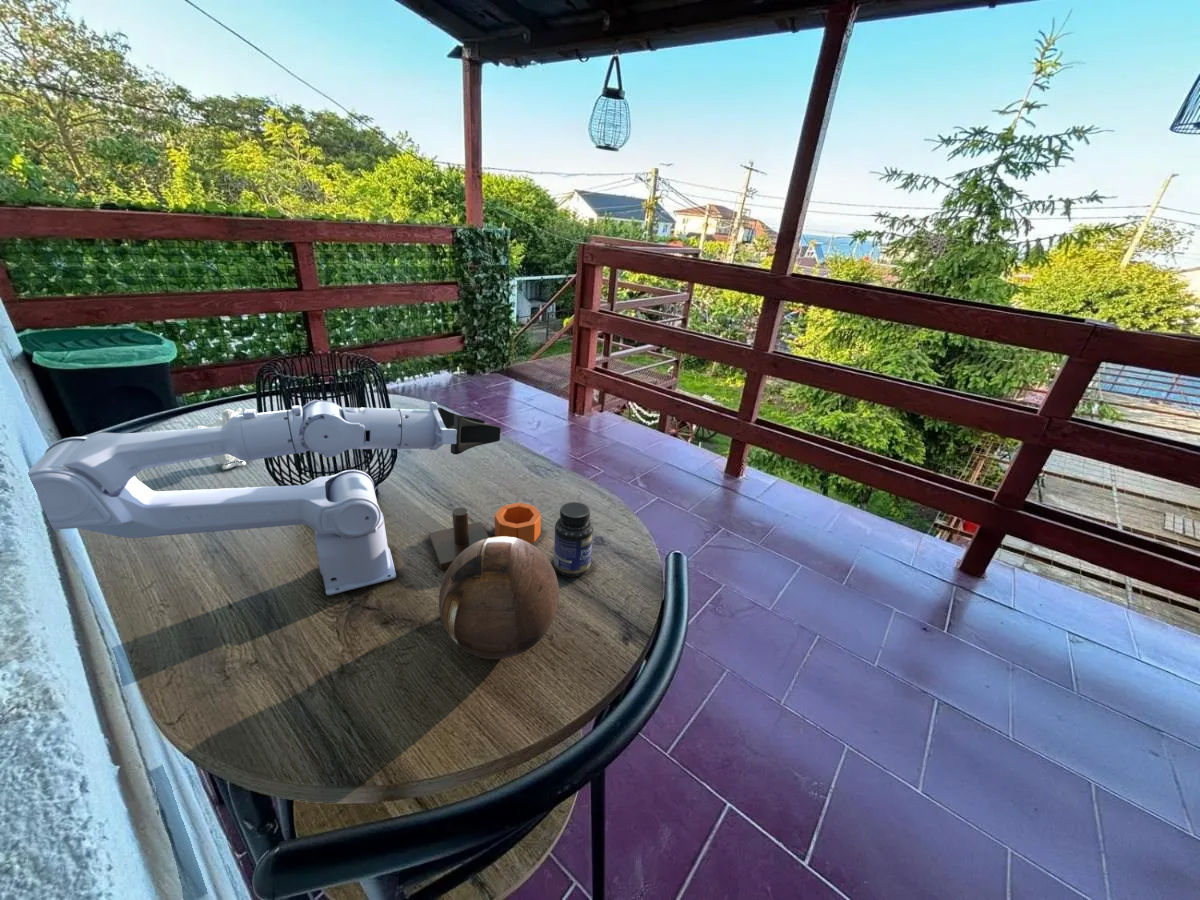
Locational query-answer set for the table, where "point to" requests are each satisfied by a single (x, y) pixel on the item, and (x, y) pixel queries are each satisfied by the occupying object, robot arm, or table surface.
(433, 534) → the peg stand
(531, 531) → the ring
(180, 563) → the table surface
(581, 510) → the pill bottle
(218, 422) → the white sheep figurine
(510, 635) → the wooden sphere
